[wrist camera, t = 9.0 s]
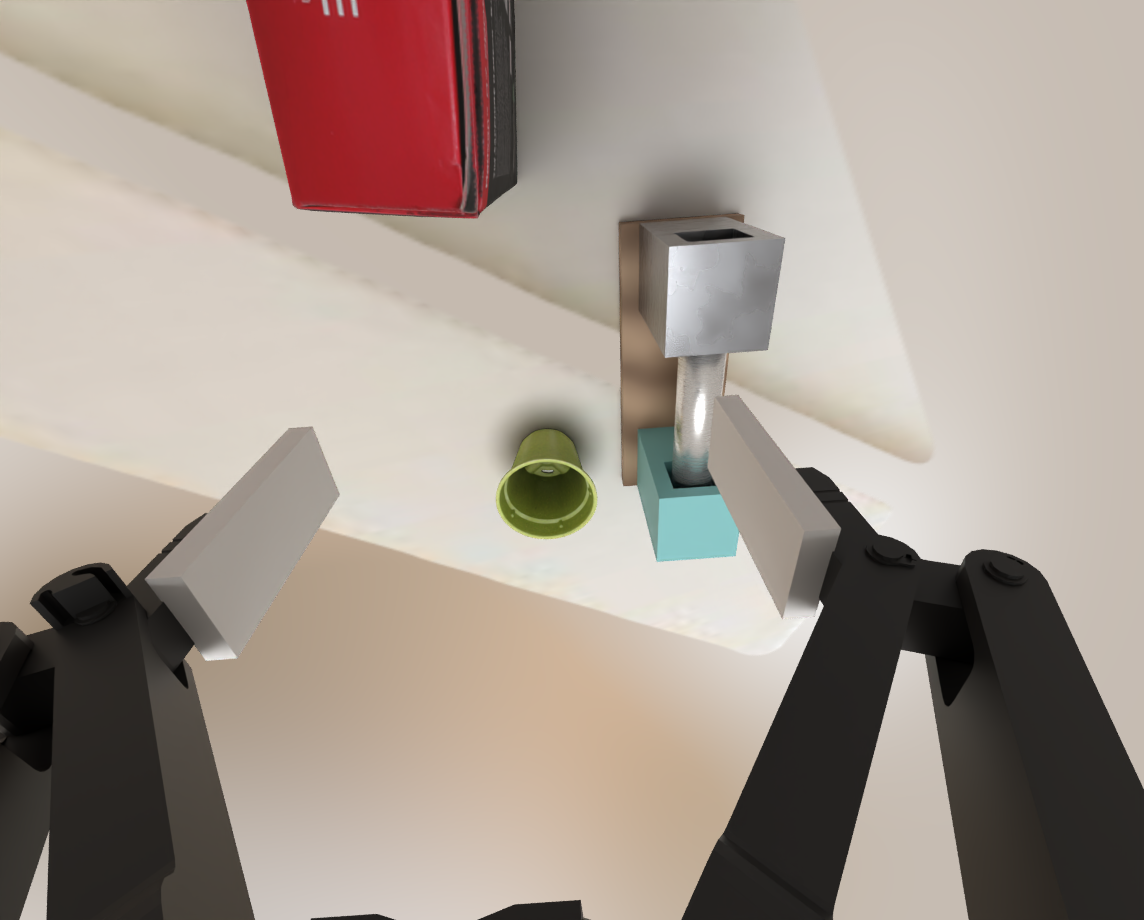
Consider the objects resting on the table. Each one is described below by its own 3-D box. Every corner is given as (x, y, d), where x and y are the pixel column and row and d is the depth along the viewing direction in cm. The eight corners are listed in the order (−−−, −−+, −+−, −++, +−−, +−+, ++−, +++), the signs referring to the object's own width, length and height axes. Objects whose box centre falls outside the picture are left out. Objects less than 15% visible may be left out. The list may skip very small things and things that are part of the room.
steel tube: (675, 313, 36) (686, 327, 34) (722, 309, 36) (737, 323, 33) (666, 495, 46) (674, 518, 43) (703, 492, 46) (714, 515, 43)
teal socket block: (637, 429, 49) (659, 498, 39) (706, 424, 49) (745, 492, 39) (637, 485, 53) (656, 561, 43) (701, 480, 53) (735, 556, 43)
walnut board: (618, 222, 40) (621, 224, 39) (738, 213, 40) (744, 215, 39) (621, 478, 54) (623, 486, 53) (710, 471, 54) (714, 479, 53)
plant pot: (590, 487, 55) (597, 538, 48) (507, 489, 55) (500, 541, 47) (591, 412, 50) (597, 457, 43) (499, 415, 50) (490, 461, 42)
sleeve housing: (639, 223, 39) (669, 246, 29) (725, 216, 39) (785, 238, 29) (638, 310, 43) (664, 357, 33) (717, 304, 43) (767, 350, 33)
